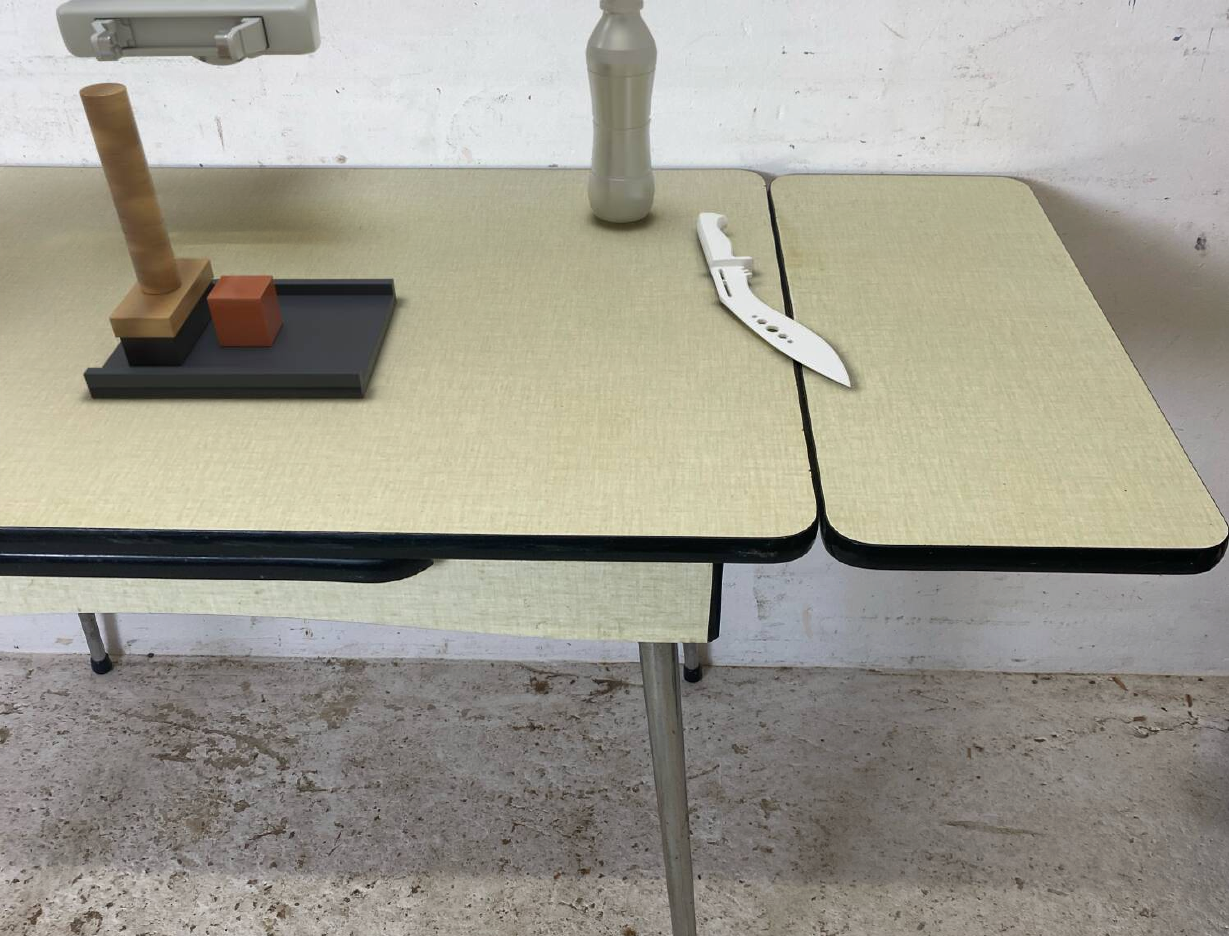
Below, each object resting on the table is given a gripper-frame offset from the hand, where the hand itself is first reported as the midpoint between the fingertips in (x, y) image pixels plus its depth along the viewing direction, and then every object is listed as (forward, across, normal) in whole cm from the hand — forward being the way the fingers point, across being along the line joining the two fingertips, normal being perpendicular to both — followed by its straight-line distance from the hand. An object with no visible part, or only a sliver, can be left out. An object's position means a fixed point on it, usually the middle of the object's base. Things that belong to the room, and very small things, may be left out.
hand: (164, 49), depth 82 cm
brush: (+12, 0, +17) cm, 21 cm away
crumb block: (+12, +6, +17) cm, 22 cm away
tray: (+12, +6, +18) cm, 23 cm away
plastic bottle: (-14, +35, +19) cm, 42 cm away
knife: (+4, +47, +19) cm, 51 cm away
